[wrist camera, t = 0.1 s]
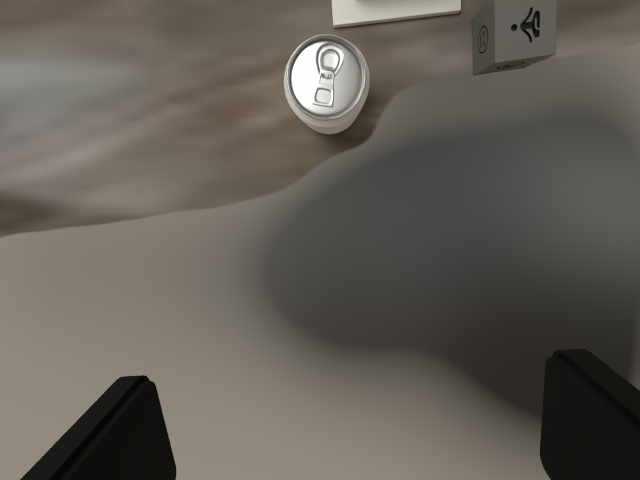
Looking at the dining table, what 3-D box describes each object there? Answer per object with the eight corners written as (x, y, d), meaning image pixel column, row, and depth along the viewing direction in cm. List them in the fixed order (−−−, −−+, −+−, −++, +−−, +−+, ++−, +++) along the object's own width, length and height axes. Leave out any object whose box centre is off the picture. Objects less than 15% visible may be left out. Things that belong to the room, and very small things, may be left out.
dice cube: (524, 67, 34) (555, 53, 29) (472, 75, 35) (495, 62, 30) (524, 11, 33) (557, -13, 28) (471, 19, 33) (494, -3, 28)
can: (366, 73, 35) (381, 34, 23) (354, 139, 36) (362, 133, 25) (303, 63, 35) (286, 19, 23) (294, 129, 37) (274, 118, 25)
